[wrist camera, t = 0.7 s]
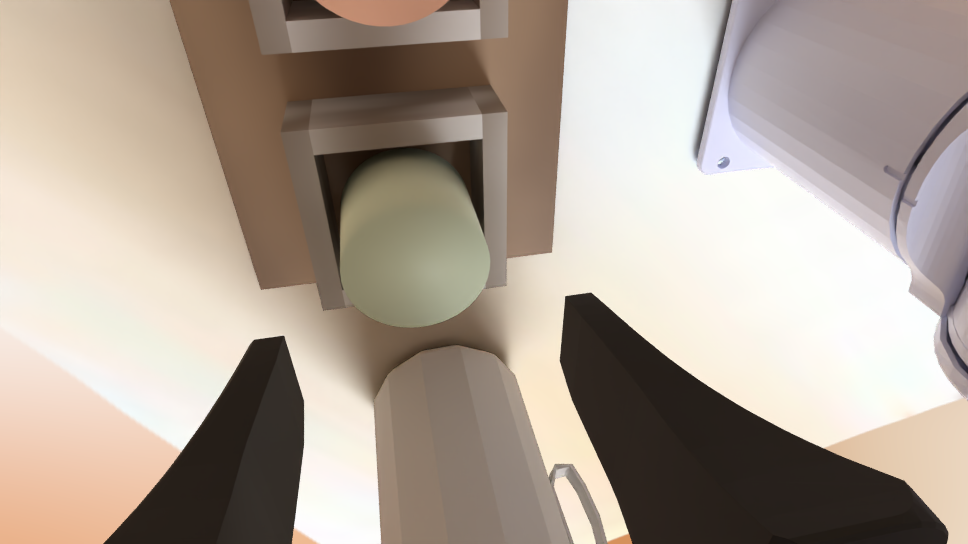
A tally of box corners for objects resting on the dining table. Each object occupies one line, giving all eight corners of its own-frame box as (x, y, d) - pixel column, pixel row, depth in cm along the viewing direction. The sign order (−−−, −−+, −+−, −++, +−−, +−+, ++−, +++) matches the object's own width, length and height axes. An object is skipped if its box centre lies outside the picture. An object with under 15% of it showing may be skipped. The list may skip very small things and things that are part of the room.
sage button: (466, 141, 19) (489, 196, 16) (470, 251, 22) (491, 316, 19) (330, 155, 18) (327, 214, 15) (351, 266, 21) (352, 336, 18)
